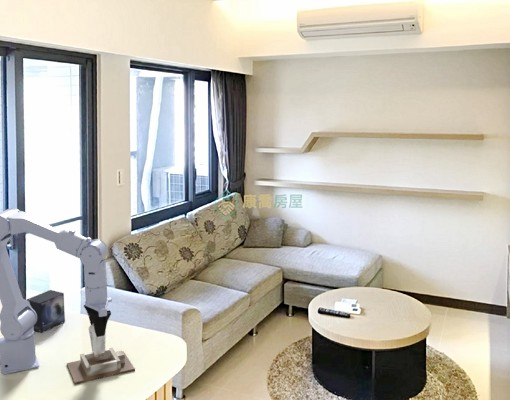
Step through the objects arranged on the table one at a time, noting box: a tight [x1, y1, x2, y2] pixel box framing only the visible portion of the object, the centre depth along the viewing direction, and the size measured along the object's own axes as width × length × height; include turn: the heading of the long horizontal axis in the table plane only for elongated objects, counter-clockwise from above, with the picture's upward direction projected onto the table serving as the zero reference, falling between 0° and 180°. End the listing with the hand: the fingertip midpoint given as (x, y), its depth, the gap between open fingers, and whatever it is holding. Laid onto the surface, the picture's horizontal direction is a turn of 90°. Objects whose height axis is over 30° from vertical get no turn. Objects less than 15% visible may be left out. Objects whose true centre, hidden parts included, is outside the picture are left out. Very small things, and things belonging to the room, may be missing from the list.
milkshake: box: [88, 324, 106, 357], centre depth 151 cm, size 4×5×10 cm
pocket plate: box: [66, 347, 136, 385], centre depth 152 cm, size 16×12×3 cm
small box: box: [26, 289, 66, 334], centre depth 179 cm, size 11×6×10 cm, turn 155°
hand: (98, 332), depth 151 cm, fingers closed on milkshake, 4 cm apart
